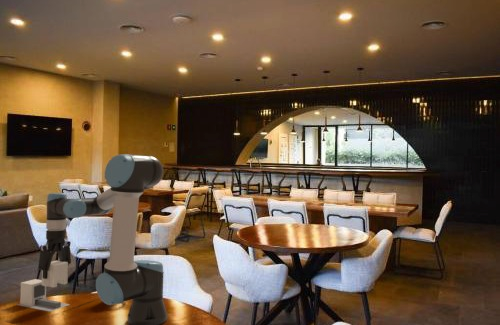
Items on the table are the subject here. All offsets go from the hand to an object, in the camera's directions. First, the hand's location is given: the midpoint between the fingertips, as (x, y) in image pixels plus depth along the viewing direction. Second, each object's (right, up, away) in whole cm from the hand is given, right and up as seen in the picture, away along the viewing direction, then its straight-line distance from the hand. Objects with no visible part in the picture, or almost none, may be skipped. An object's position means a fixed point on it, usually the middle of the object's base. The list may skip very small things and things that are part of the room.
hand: (54, 283), depth 172 cm
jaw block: (0, 0, 0) cm, 0 cm away
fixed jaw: (-12, -10, +5) cm, 16 cm away
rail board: (-6, -11, +2) cm, 12 cm away
